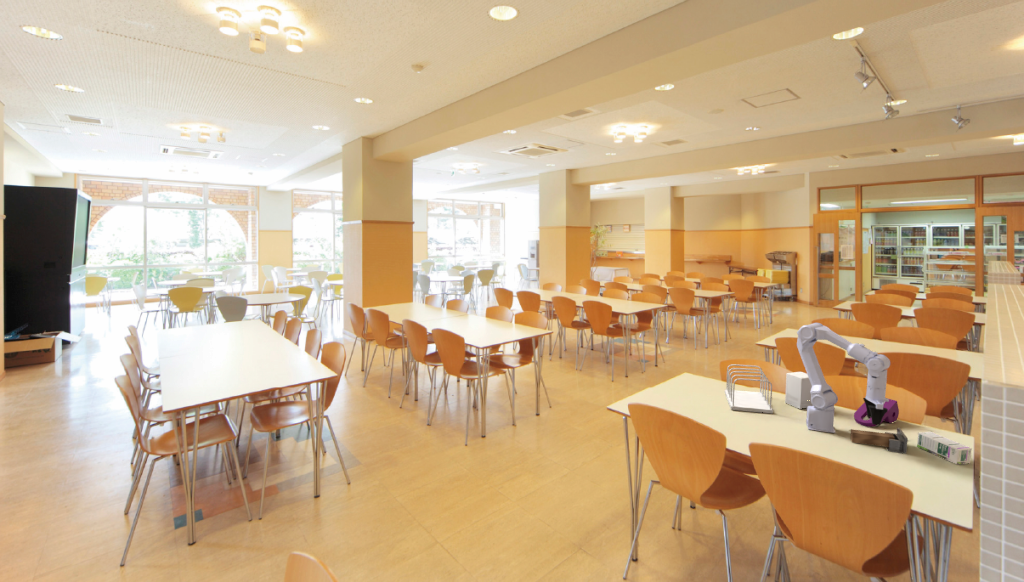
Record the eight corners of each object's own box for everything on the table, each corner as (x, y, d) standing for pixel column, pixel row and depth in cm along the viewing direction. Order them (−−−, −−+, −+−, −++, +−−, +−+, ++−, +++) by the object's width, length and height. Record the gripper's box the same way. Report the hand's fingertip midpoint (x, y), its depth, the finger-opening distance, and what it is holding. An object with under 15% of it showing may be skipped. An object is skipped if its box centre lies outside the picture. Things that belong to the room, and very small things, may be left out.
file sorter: (773, 414, 212) (774, 381, 210) (730, 410, 217) (732, 378, 215) (762, 395, 235) (763, 365, 233) (724, 392, 241) (725, 363, 239)
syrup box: (917, 432, 177) (958, 449, 163) (931, 431, 178) (973, 448, 163) (916, 446, 178) (956, 465, 163) (929, 445, 178) (971, 464, 164)
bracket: (887, 451, 175) (889, 435, 174) (881, 440, 183) (882, 425, 183) (906, 453, 172) (907, 438, 171) (898, 442, 181) (899, 428, 180)
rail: (852, 442, 182) (852, 432, 182) (850, 438, 185) (850, 429, 185) (894, 447, 176) (894, 437, 176) (891, 444, 179) (892, 434, 179)
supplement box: (815, 407, 218) (817, 376, 216) (800, 409, 216) (801, 378, 214) (799, 401, 227) (801, 371, 225) (784, 403, 224) (785, 372, 223)
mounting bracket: (877, 441, 195) (900, 416, 201) (873, 426, 193) (897, 401, 199) (852, 433, 204) (875, 409, 210) (849, 418, 201) (872, 394, 207)
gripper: (894, 394, 170) (891, 429, 171) (884, 382, 183) (881, 415, 184) (870, 391, 173) (868, 426, 175) (862, 380, 186) (859, 412, 187)
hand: (873, 420), depth 180 cm, fingers open, 7 cm apart
